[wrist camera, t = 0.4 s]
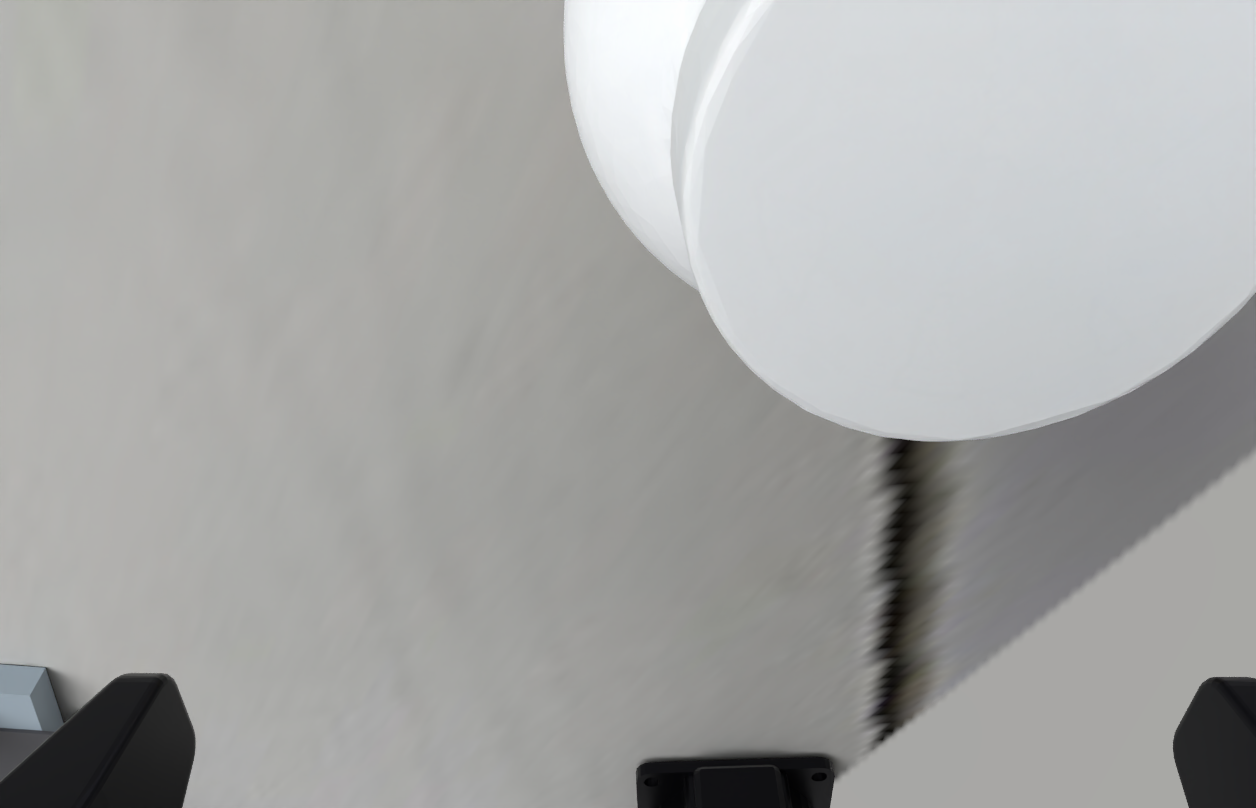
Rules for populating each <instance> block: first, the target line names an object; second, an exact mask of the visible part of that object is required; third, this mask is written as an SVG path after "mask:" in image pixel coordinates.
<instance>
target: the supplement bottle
mask: <svg viewBox="0 0 1256 808" xmlns="http://www.w3.org/2000/svg"><path fill="white" fill-rule="evenodd" d="M564 58H565V70H566V78H567V84H568V90H569V95H570V101H571V106H572V110H573V114H574V117H575V121H576V125H577V128H578V132H579V135H580V139H581V142H582V144H583V147H584V150H585V152H586V155H587V157H588V160H589V162H590V164H591V167H592V169H593V171H594V173H595V175H596V177H597V178H598V180H599V182H600V184H601V186H602V188H603V190H604V191H605V193H606V195H607V197H608V199H609V200H610V202H611V203H612V205H613V206H614V208H615V209H616V211H617V212H618V214H619V215H620V217H621V218H622V219H623V221H624V222H625V223H626V225H627V226H628V227H629V228H630V230H631V231H632V232H633V234H634V235H635V236H636V237H637V238H638V239H639V241H640V242H641V243H642V244H643V245H644V246H645V247H646V249H647V250H648V251H649V252H651V253H652V254H653V255H654V256H655V257H656V258H657V259H658V260H659V261H660V262H661V263H662V264H664V265H665V266H666V267H667V268H668V269H669V270H670V271H671V272H673V273H674V274H675V275H677V276H678V277H679V278H681V279H682V280H683V281H685V282H686V283H687V284H689V285H690V286H692V287H693V288H695V289H696V290H698V291H699V292H700V295H701V298H702V300H703V302H704V304H705V306H706V308H707V310H708V312H709V314H710V316H711V318H712V320H713V321H714V323H715V325H716V326H717V328H718V329H719V331H720V333H721V334H722V336H723V337H724V339H725V340H726V341H727V343H728V344H729V346H730V347H731V348H732V349H733V351H734V352H735V353H736V354H737V355H738V356H739V357H740V358H741V359H742V361H743V362H744V363H745V364H746V365H747V366H748V367H749V369H750V370H751V371H752V372H753V373H755V374H756V375H757V376H758V377H759V378H760V379H762V380H763V381H764V382H765V383H766V384H768V385H769V386H770V387H771V388H772V389H773V390H775V391H776V392H778V393H779V394H781V395H782V396H784V397H785V398H787V399H789V400H790V401H792V402H793V403H795V404H796V405H798V406H799V407H801V408H803V409H804V410H806V411H808V412H810V413H812V414H815V415H817V416H819V417H822V418H824V419H827V420H829V421H832V422H834V423H836V424H839V425H841V426H844V427H846V428H850V429H854V430H858V431H862V432H865V433H869V434H873V435H877V436H881V437H888V438H898V439H906V440H915V441H931V442H948V441H965V440H980V439H986V438H993V437H999V436H1005V435H1009V434H1014V433H1018V432H1023V431H1027V430H1031V429H1036V428H1039V427H1043V426H1046V425H1049V424H1053V423H1056V422H1059V421H1063V420H1066V419H1069V418H1073V417H1076V416H1079V415H1081V414H1083V413H1086V412H1088V411H1091V410H1093V409H1095V408H1098V407H1100V406H1103V405H1105V404H1107V403H1109V402H1111V401H1113V400H1115V399H1117V398H1119V397H1121V396H1124V395H1126V394H1128V393H1130V392H1131V391H1133V390H1135V389H1137V388H1139V387H1140V386H1142V385H1144V384H1146V383H1147V382H1149V381H1151V380H1152V379H1154V378H1155V377H1157V376H1159V375H1160V374H1162V373H1163V372H1165V371H1166V370H1168V369H1169V368H1171V367H1172V366H1174V365H1175V364H1177V363H1178V362H1179V361H1181V360H1182V359H1184V358H1185V357H1186V356H1188V355H1189V354H1191V353H1192V352H1193V351H1194V350H1196V349H1197V348H1198V347H1199V346H1200V345H1202V344H1203V343H1204V342H1205V341H1206V340H1208V339H1209V338H1210V337H1211V336H1213V335H1214V334H1215V333H1216V332H1217V331H1218V330H1219V329H1220V328H1221V327H1222V326H1224V325H1225V324H1226V323H1227V322H1228V321H1229V320H1230V319H1231V318H1232V317H1233V316H1234V315H1236V314H1237V313H1238V312H1239V311H1240V310H1241V309H1242V307H1243V306H1244V305H1245V304H1246V303H1247V302H1248V301H1249V300H1250V298H1251V297H1252V296H1253V295H1254V294H1255V293H1256V0H565V5H564Z"/></svg>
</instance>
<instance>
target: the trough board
mask: <svg viewBox="0 0 1256 808" xmlns="http://www.w3.org/2000/svg"><path fill="white" fill-rule="evenodd" d="M63 724H64V723H63V720H62V717H61V714H60V711H59V708H58V704H57V701H56V698H55V695H54V692H53V689H52V686H51V683H50V680H49V677H48V674H47V671H46V668H42V667H29V666H15V665H2V664H0V781H1V780H2V779H3V778H4V777H5V776H6V775H7V774H8V773H9V772H11V771H12V770H13V769H14V768H15V767H16V766H17V765H18V764H20V763H21V762H22V761H23V760H24V759H25V758H26V757H27V756H28V755H30V754H31V753H32V752H33V751H34V750H35V749H36V748H37V747H38V746H40V745H41V744H42V743H43V742H44V741H45V740H46V739H47V738H49V737H50V736H51V735H52V734H53V733H54V732H55V731H56V730H57V729H59V728H60V727H61V726H62V725H63Z"/></svg>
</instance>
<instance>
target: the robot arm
mask: <svg viewBox="0 0 1256 808" xmlns="http://www.w3.org/2000/svg"><path fill="white" fill-rule="evenodd" d="M1173 752H1174V759H1175V763H1176V766H1177V770H1178V773H1179V776H1180V779H1181V783H1182V786H1183V789H1184V792H1185V796H1186V799H1187V802H1188V806H1189V808H1256V679H1255V678H1249V677H1213V678H1209V679H1207V680H1206V681H1205V682H1203V683H1202V684H1201V686H1200V687H1199V689H1198V691H1197V693H1196V694H1195V696H1194V698H1193V700H1192V702H1191V704H1190V706H1189V707H1188V709H1187V711H1186V713H1185V715H1184V716H1183V718H1182V720H1181V722H1180V724H1179V726H1178V728H1177V730H1176V732H1175V735H1174V740H1173ZM194 756H195V733H194V729H193V726H192V723H191V721H190V718H189V716H188V713H187V710H186V708H185V705H184V703H183V700H182V697H181V695H180V692H179V690H178V687H177V684H176V683H175V681H174V679H173V678H171V677H170V676H169V675H168V674H163V673H129V674H124V675H121V676H119V677H117V678H115V679H114V680H112V681H111V682H110V683H109V684H108V685H106V686H105V687H104V688H103V689H102V690H101V691H100V692H99V693H98V694H96V695H95V696H94V697H93V698H92V699H91V700H90V701H89V702H88V703H86V704H85V705H84V706H83V707H82V708H81V709H80V710H79V711H77V712H76V713H75V714H74V715H73V716H72V717H71V718H70V719H69V720H67V721H66V722H65V723H64V724H63V725H62V726H61V727H60V728H59V729H57V730H56V731H55V732H54V733H53V734H52V735H51V736H50V737H49V738H47V739H46V740H45V741H44V742H43V743H42V744H41V745H40V746H38V747H37V748H36V749H35V750H34V751H33V752H32V753H31V754H30V755H28V756H27V757H26V758H25V759H24V760H23V761H22V762H21V763H20V764H18V765H17V766H16V767H15V768H14V769H13V770H12V771H11V772H9V773H8V774H7V775H6V776H5V777H4V778H3V779H2V780H1V781H0V808H182V807H183V803H184V798H185V794H186V790H187V786H188V782H189V778H190V773H191V769H192V765H193V761H194ZM834 777H835V776H834V771H833V766H832V762H831V761H830V760H829V759H826V758H822V757H808V758H777V759H745V760H714V761H682V762H651V763H645V764H642V765H640V766H639V767H638V768H637V771H636V784H637V802H638V808H830V803H831V797H832V790H833V784H834Z"/></svg>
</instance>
